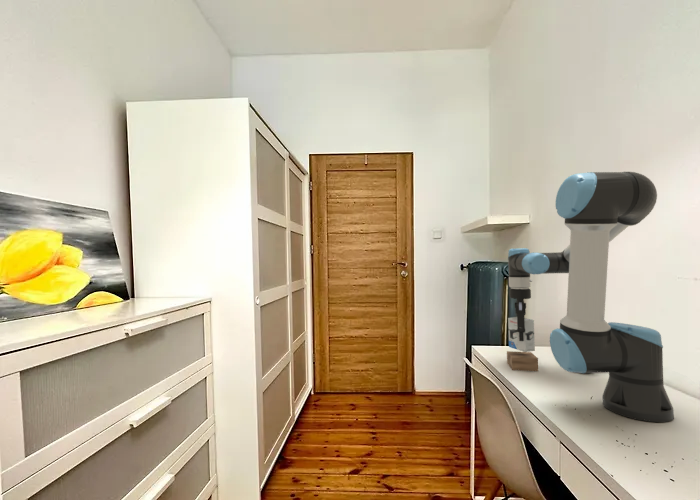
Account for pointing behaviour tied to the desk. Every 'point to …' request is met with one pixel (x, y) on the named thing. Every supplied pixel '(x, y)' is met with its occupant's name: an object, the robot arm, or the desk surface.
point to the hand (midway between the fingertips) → (521, 346)
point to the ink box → (528, 334)
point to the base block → (522, 361)
